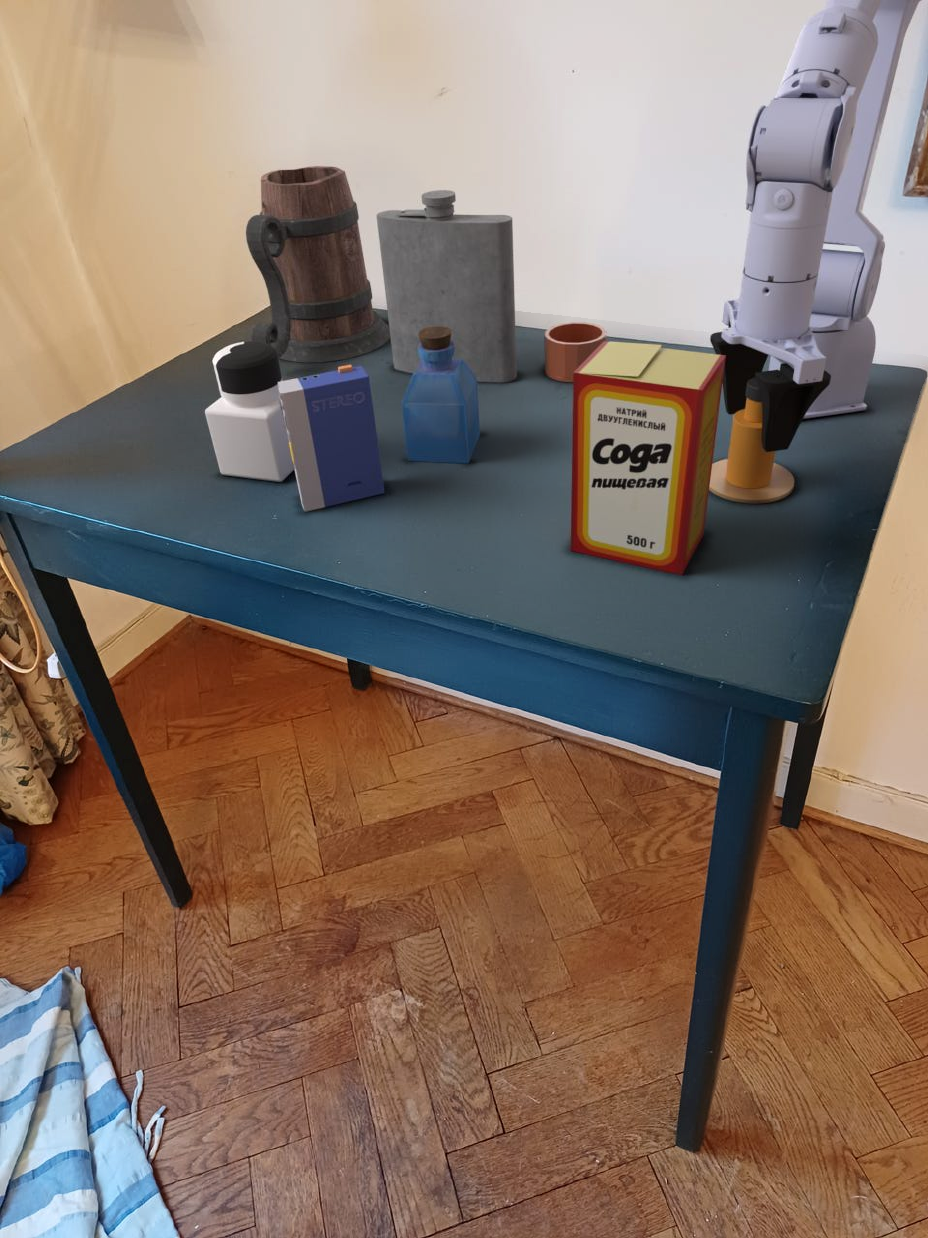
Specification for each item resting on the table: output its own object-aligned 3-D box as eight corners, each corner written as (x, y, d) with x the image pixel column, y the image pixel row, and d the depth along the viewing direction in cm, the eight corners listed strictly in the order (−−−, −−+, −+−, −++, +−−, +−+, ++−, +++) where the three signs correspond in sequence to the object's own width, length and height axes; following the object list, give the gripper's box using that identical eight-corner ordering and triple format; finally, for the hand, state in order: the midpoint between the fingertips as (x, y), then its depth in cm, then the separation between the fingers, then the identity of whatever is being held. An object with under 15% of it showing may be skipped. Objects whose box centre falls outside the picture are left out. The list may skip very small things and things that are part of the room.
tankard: (306, 311, 127) (280, 157, 114) (412, 320, 121) (396, 159, 109) (210, 375, 110) (167, 202, 98) (327, 389, 104) (297, 207, 92)
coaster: (769, 455, 85) (770, 452, 85) (809, 496, 79) (810, 492, 78) (690, 467, 84) (690, 463, 84) (724, 509, 78) (724, 505, 78)
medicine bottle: (315, 450, 92) (294, 336, 84) (282, 483, 87) (257, 365, 79) (255, 443, 94) (229, 332, 87) (219, 475, 89) (189, 360, 81)
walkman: (377, 480, 86) (360, 361, 79) (384, 493, 84) (368, 372, 76) (297, 498, 84) (273, 378, 77) (303, 512, 82) (278, 389, 75)
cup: (594, 355, 107) (595, 318, 104) (612, 377, 102) (614, 339, 99) (538, 363, 106) (538, 326, 104) (553, 385, 101) (553, 347, 98)
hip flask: (520, 373, 104) (516, 189, 92) (507, 386, 102) (501, 199, 89) (401, 359, 110) (382, 185, 98) (386, 372, 107) (364, 193, 95)
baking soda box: (703, 533, 75) (726, 350, 65) (681, 575, 70) (702, 384, 61) (597, 512, 79) (604, 336, 69) (570, 550, 74) (573, 367, 64)
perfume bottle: (468, 463, 88) (460, 344, 80) (408, 460, 89) (394, 344, 81) (479, 434, 92) (473, 320, 85) (422, 433, 93) (411, 320, 86)
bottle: (758, 465, 83) (773, 370, 77) (778, 485, 80) (795, 388, 74) (718, 470, 82) (730, 376, 77) (736, 491, 79) (750, 395, 74)
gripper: (696, 252, 75) (682, 402, 83) (773, 307, 64) (748, 474, 72) (775, 243, 76) (753, 392, 84) (865, 295, 64) (829, 462, 73)
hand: (756, 429), depth 78 cm, fingers open, 7 cm apart
